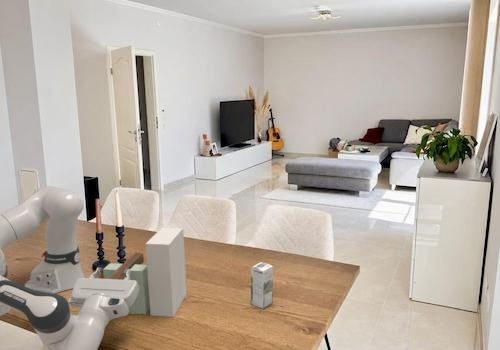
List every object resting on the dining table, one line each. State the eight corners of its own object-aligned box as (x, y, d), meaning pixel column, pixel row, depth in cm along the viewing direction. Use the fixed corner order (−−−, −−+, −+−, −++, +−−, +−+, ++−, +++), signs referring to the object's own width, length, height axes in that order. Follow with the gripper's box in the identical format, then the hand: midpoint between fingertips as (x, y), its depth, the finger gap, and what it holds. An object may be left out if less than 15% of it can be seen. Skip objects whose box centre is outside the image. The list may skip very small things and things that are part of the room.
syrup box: (260, 298, 154) (260, 261, 151) (273, 303, 151) (273, 265, 148) (250, 304, 150) (250, 266, 147) (263, 309, 146) (263, 270, 143)
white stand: (150, 315, 144) (145, 243, 139) (166, 293, 159) (162, 227, 154) (173, 316, 143) (168, 244, 137) (186, 294, 158) (183, 228, 153)
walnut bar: (105, 291, 134) (104, 281, 133) (136, 261, 157) (135, 252, 156) (114, 292, 133) (113, 281, 133) (143, 261, 157) (143, 252, 156)
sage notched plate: (107, 312, 147) (103, 269, 143) (113, 304, 151) (109, 263, 148) (145, 314, 145) (142, 271, 141) (150, 306, 150) (147, 264, 146)
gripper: (69, 311, 130) (87, 273, 140) (132, 315, 127) (146, 276, 137) (61, 300, 125) (80, 262, 136) (127, 304, 123) (141, 264, 133)
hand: (114, 269), depth 136 cm, fingers open, 8 cm apart
